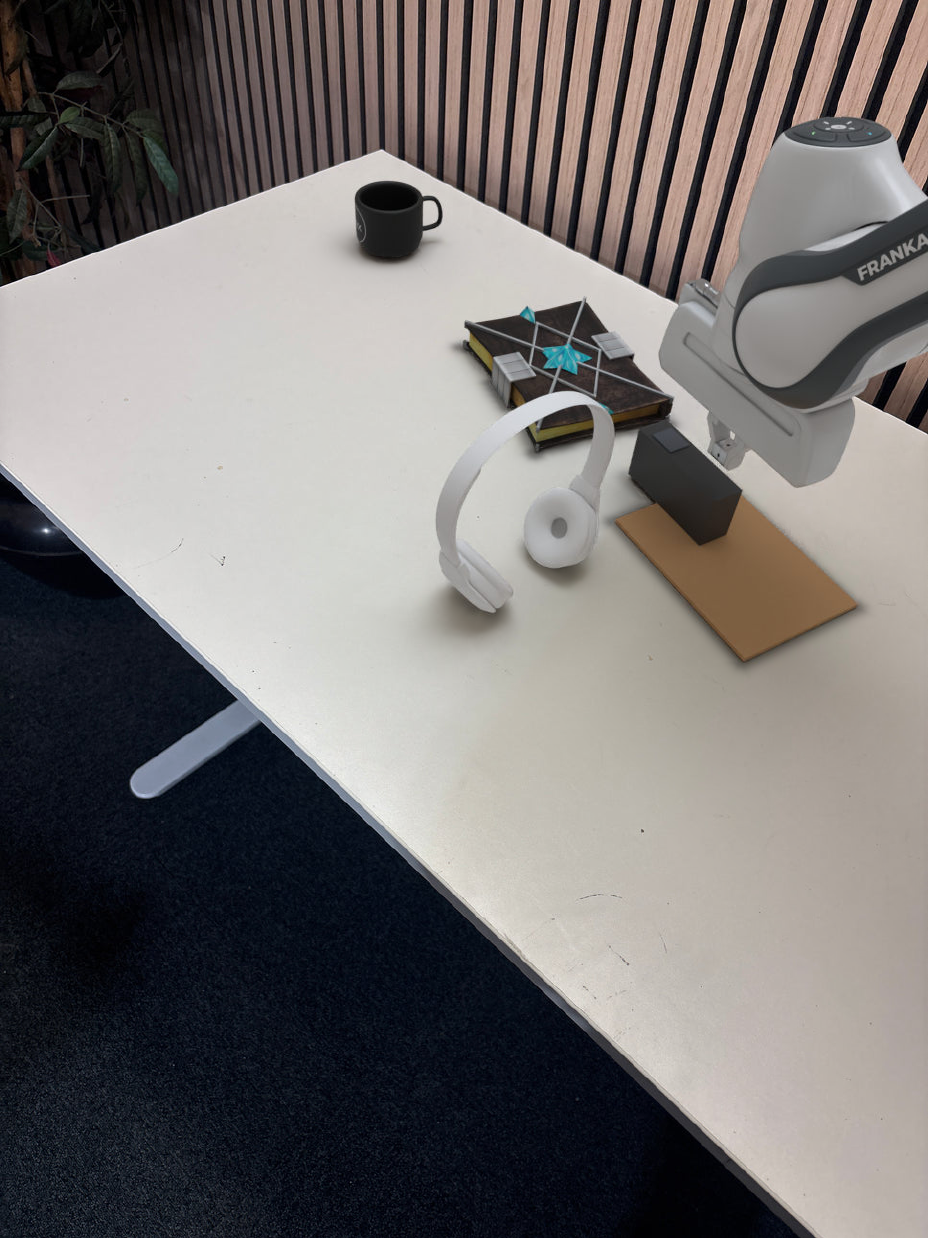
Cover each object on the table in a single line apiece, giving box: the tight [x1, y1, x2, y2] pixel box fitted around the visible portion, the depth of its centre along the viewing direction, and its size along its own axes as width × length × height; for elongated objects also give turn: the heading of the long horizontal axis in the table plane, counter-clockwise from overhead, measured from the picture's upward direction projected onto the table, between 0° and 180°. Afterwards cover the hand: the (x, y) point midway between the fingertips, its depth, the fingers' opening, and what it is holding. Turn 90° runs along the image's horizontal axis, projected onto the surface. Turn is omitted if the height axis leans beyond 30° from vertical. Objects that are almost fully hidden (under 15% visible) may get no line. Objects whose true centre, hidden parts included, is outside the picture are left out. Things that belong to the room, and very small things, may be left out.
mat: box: [614, 494, 858, 662], centre depth 90 cm, size 20×14×1 cm
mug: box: [354, 180, 444, 258], centre depth 123 cm, size 12×9×7 cm
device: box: [628, 419, 744, 546], centre depth 92 cm, size 6×4×12 cm
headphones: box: [435, 391, 616, 614], centre depth 80 cm, size 7×18×20 cm, turn 128°
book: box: [462, 295, 675, 452], centre depth 105 cm, size 22×17×5 cm
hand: (723, 459), depth 85 cm, fingers closed
